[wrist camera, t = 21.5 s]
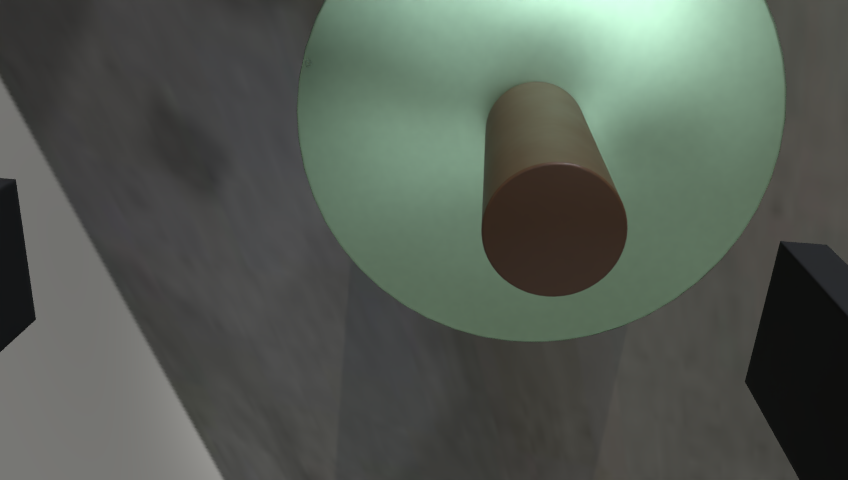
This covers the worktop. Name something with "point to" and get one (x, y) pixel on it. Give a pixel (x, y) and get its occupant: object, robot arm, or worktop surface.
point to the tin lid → (540, 151)
